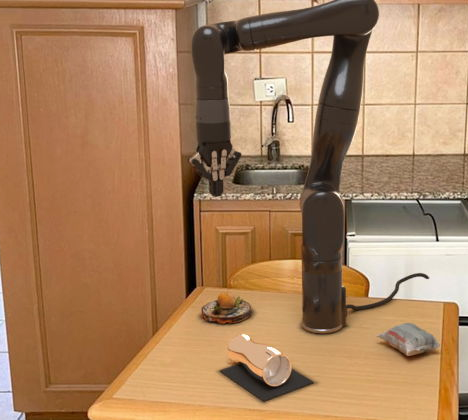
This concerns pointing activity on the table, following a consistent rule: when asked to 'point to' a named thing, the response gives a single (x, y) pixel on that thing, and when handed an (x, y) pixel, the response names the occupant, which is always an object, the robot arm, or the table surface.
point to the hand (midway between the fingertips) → (216, 195)
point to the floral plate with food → (226, 309)
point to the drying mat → (262, 389)
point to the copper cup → (260, 360)
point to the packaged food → (409, 339)
